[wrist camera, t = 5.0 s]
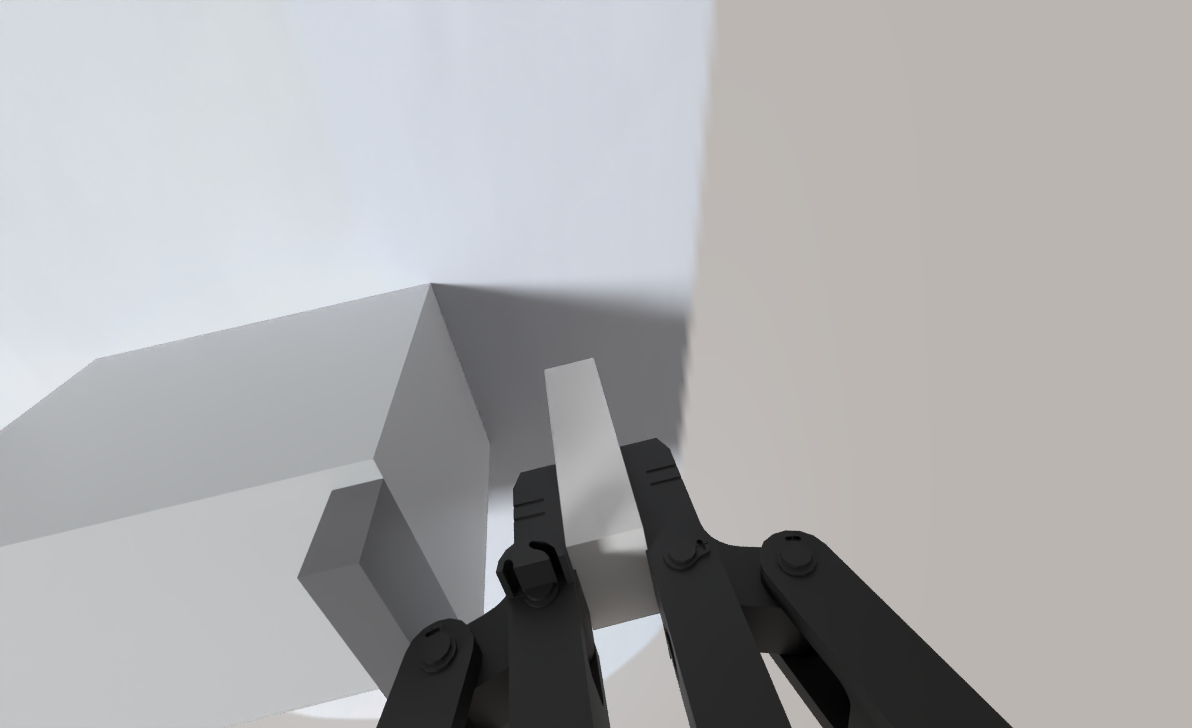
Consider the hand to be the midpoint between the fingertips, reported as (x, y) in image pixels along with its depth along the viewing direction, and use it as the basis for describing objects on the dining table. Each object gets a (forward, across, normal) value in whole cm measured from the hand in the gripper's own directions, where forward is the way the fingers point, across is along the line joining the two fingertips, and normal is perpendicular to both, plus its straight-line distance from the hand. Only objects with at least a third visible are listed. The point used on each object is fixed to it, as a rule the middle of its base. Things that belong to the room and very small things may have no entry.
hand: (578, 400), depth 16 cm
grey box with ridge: (+4, -9, 0) cm, 10 cm away
